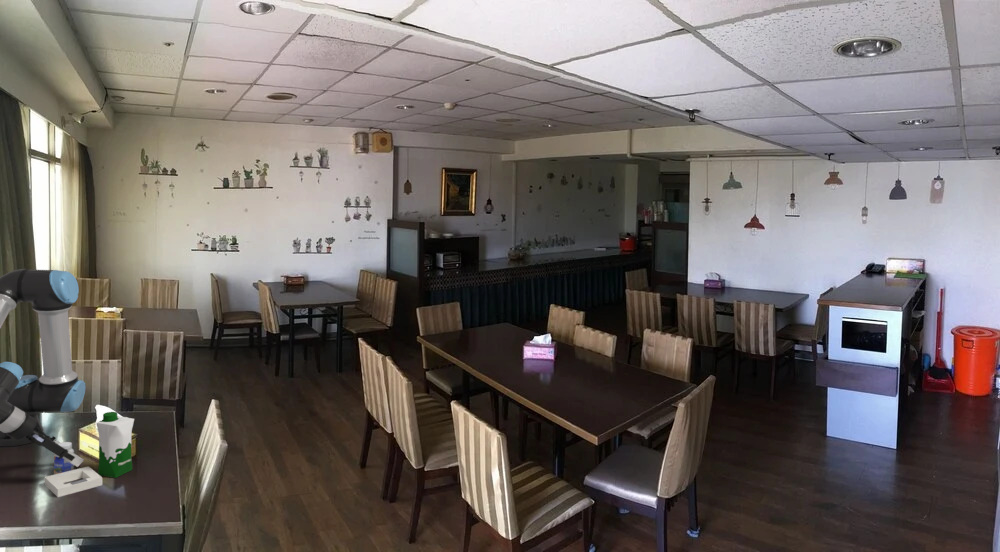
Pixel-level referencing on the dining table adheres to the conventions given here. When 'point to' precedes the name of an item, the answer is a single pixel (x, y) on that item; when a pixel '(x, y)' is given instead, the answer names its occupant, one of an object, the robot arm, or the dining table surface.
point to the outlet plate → (61, 489)
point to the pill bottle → (63, 460)
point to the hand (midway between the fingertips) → (74, 458)
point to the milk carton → (114, 445)
